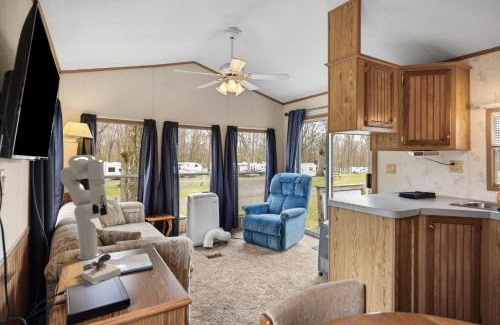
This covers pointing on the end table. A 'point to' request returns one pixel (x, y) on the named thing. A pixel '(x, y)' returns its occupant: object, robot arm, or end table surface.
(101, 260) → the eagle figurine
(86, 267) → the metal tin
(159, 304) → the end table surface
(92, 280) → the white slab
